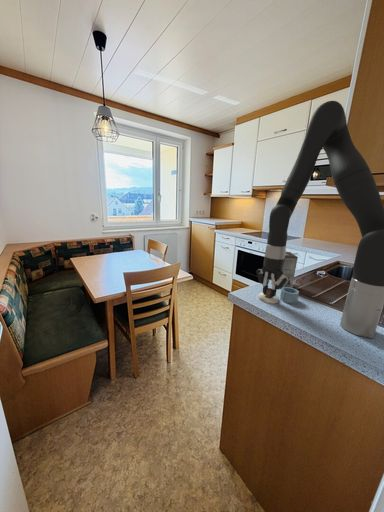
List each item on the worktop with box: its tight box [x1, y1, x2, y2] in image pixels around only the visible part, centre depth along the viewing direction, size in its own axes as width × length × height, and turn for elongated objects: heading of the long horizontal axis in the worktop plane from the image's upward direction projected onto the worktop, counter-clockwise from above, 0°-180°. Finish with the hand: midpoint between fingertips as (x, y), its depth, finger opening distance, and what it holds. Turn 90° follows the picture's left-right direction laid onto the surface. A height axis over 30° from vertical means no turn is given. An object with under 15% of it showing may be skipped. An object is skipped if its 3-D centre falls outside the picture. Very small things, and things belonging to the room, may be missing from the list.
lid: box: [258, 287, 280, 304], centre depth 89 cm, size 8×8×4 cm
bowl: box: [279, 287, 300, 305], centre depth 89 cm, size 7×7×4 cm
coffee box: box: [278, 251, 299, 288], centre depth 103 cm, size 9×6×16 cm
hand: (268, 295), depth 89 cm, fingers closed on lid, 2 cm apart
